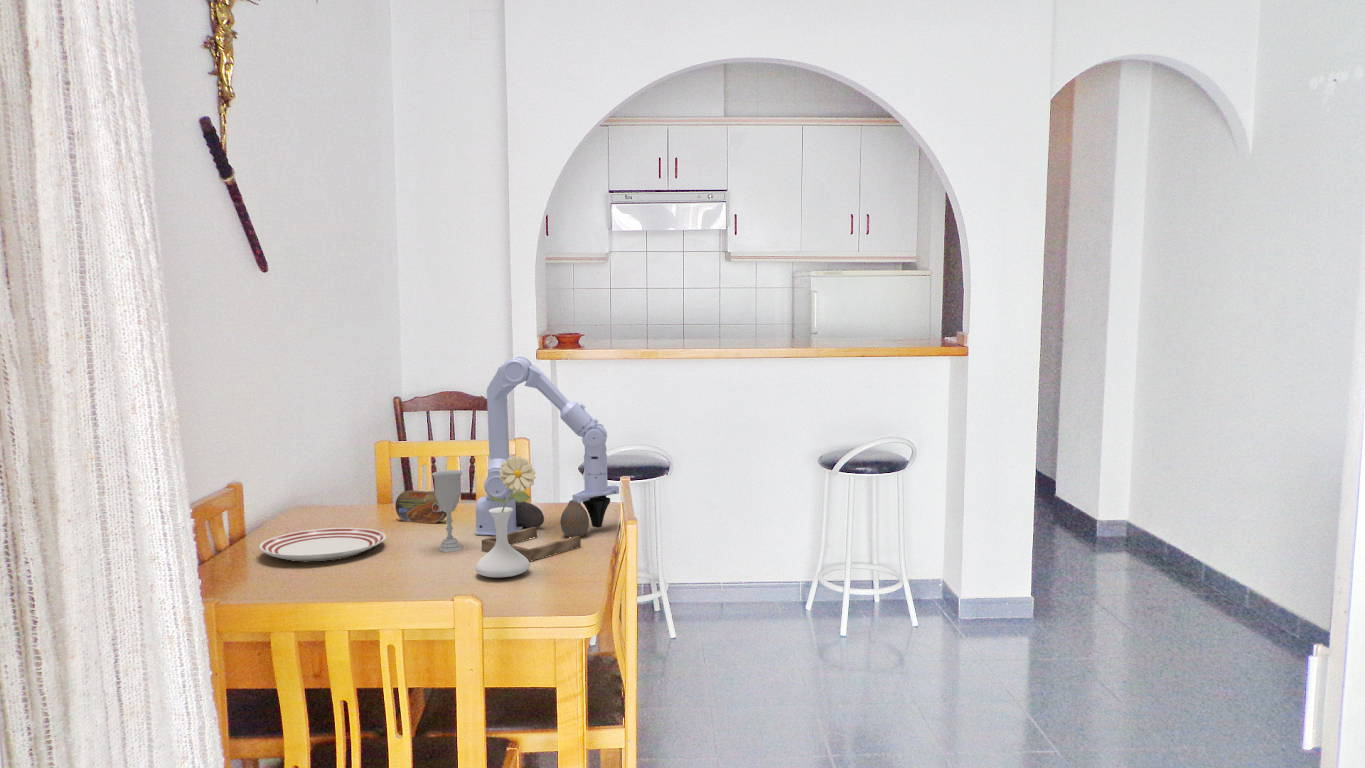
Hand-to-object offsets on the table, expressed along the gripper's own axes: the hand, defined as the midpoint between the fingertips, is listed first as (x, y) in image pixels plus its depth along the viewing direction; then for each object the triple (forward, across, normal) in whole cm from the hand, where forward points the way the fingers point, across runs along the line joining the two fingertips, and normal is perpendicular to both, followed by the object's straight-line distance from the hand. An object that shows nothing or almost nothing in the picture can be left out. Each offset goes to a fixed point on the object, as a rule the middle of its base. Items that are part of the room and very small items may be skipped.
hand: (597, 526), depth 229 cm
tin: (+1, -20, +45) cm, 49 cm away
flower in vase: (+1, -38, -11) cm, 40 cm away
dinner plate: (+2, -52, +38) cm, 64 cm away
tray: (+1, -21, 0) cm, 21 cm away
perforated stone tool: (+1, -9, +19) cm, 21 cm away
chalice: (+1, -33, +16) cm, 36 cm away
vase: (+1, -7, 0) cm, 7 cm away
